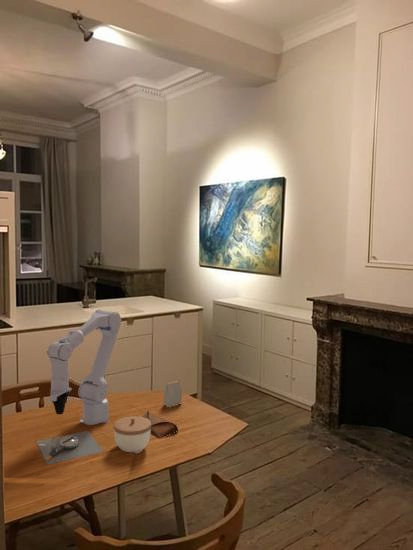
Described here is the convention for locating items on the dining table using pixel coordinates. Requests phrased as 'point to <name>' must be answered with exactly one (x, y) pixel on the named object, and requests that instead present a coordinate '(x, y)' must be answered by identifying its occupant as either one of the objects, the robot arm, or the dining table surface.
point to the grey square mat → (83, 449)
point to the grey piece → (63, 444)
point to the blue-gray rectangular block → (172, 394)
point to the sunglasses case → (160, 425)
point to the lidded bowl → (132, 433)
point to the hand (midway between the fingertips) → (59, 413)
